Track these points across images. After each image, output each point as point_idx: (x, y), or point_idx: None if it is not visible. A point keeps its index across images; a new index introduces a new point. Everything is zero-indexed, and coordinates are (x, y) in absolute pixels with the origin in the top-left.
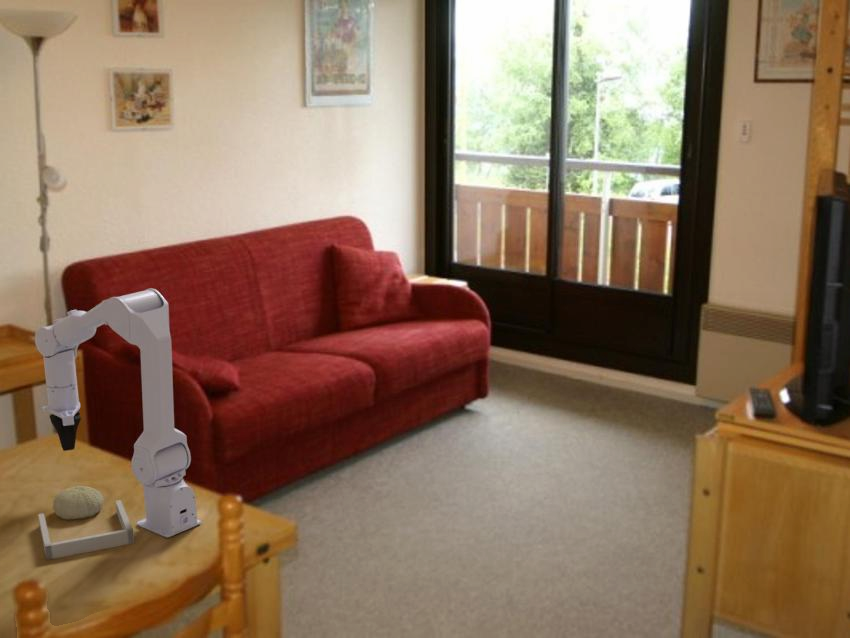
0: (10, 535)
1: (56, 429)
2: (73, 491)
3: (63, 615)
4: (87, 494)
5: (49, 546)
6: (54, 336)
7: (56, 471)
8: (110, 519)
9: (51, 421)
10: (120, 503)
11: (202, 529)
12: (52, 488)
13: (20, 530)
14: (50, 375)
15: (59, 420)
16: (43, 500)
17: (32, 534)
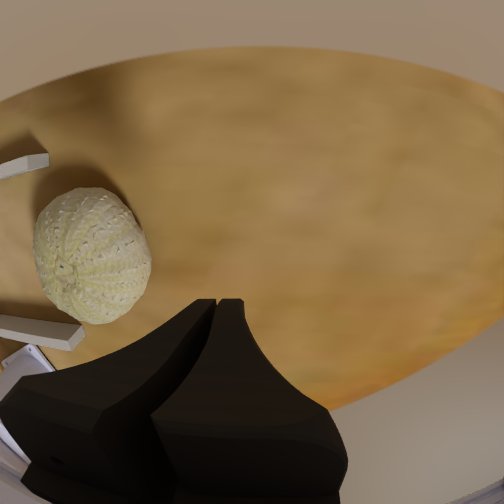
0: (33, 93)
1: (79, 367)
2: (55, 262)
3: None
4: (48, 294)
5: None
6: None
7: (446, 211)
8: (56, 307)
9: (10, 393)
10: (55, 345)
11: None
12: (314, 183)
13: (46, 109)
14: None
15: (20, 446)
16: (217, 151)
17: (23, 142)
